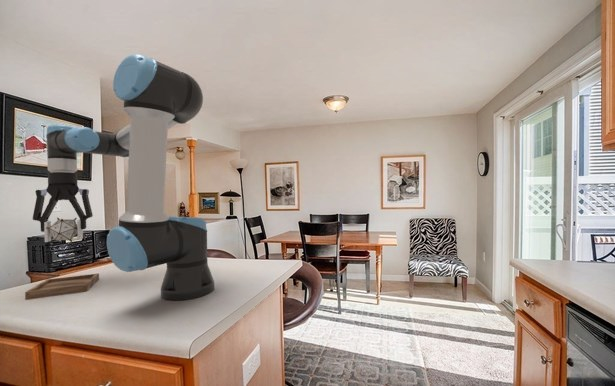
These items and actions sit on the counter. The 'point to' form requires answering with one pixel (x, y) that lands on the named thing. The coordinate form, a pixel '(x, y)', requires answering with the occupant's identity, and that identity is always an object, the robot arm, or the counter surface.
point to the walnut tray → (62, 286)
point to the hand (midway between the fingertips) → (64, 240)
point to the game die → (63, 229)
